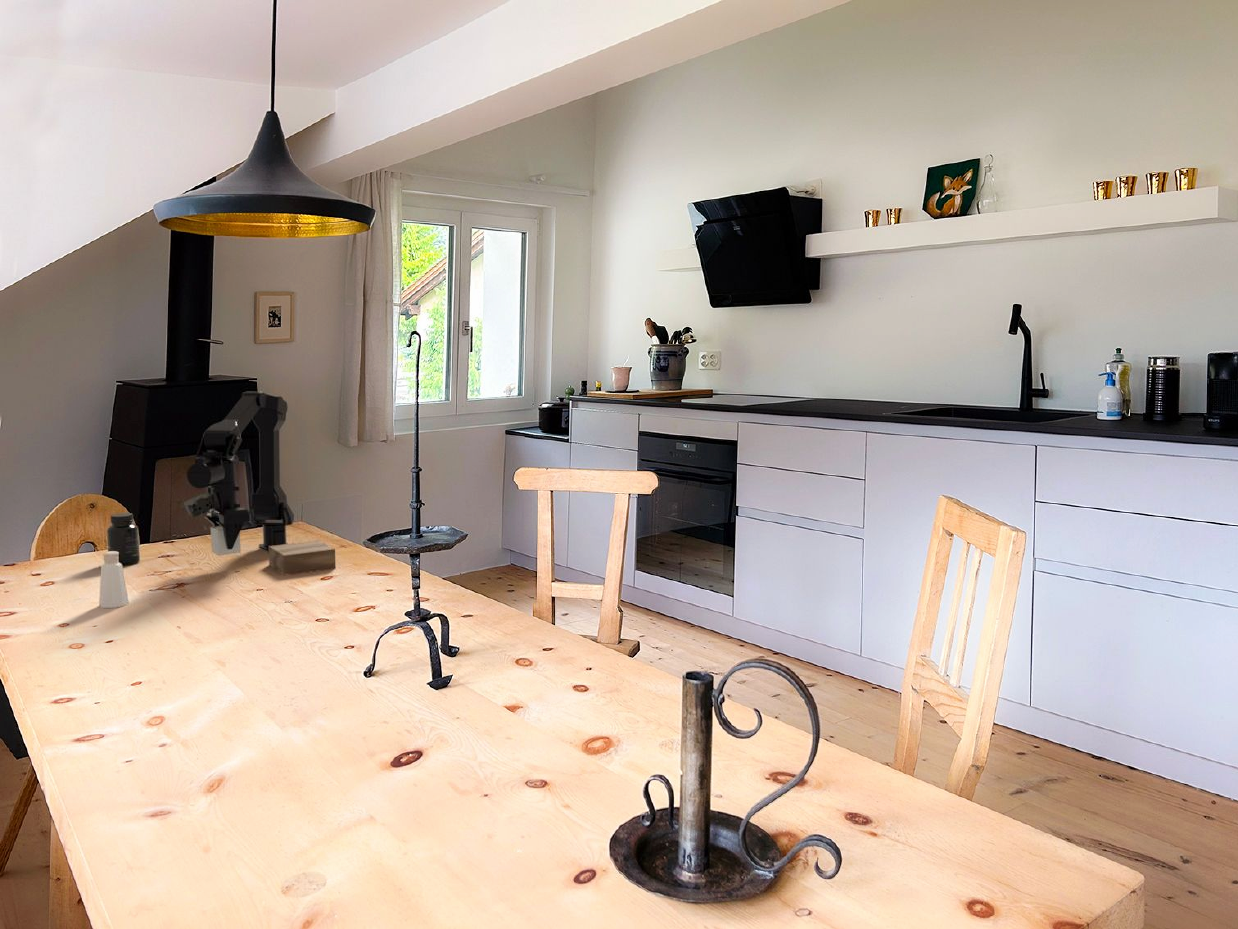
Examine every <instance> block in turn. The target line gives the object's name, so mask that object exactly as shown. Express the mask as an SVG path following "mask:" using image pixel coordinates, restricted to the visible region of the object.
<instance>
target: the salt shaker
mask: <svg viewBox="0 0 1238 929" xmlns="http://www.w3.org/2000/svg"><path fill="white" fill-rule="evenodd" d="M102 554H103V561H104V562H103V563H104V564H102V565H101V567H100V582H99V584H100V585H99V597H98V598H99V599H98V606H99V607H101V608H103V609H115V608H121V607H124V606H126V605H128V604H129V603H130V601H129V597H128V596H129V595H128V589H127V584H126V578H125V574H124V566H122V564H121V563H119V561H118V555H119V553H118V552H116V551H109V552H108V551H106V552H103V553H102Z"/></svg>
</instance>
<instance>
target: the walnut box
mask: <svg viewBox="0 0 1238 929" xmlns="http://www.w3.org/2000/svg"><path fill="white" fill-rule="evenodd" d="M268 565H269V566H270V565H271V566H272V568H273V567H274V568H273V569H274V570H276V571H278V570H279V571H280V572H279V571H278V572H279V573H281V572H282V573H283V575H284V574H290V575H295V574H304V573H303V572H305V573H311V572H310V571H312V572H317V570H319V571H325V570H331V569H336V567H337V566H336V549H335V548H333V547H331V546H329V545H328V544H326V543H324V542H322V541H320V540H318V539H317V540H309V541H303V542H294V543H288V544H284V545H275V546H269V550H268ZM271 566H270V567H271ZM282 573H281V574H282Z"/></svg>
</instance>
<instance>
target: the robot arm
mask: <svg viewBox="0 0 1238 929" xmlns="http://www.w3.org/2000/svg"><path fill="white" fill-rule="evenodd" d="M287 412H288V402H287V401H286V400H284V398H283V397H282V396H280V395H279V396H277V395H270V394H267V393H265V392H262V391H249V390H248V391H245V392H242V393H241V396H240V399H239V400H238V401H237V402H236V404H235V405H234V407H233V408H232V409H231V410H230V411H229V412H228V414H227V415H226V416H225V417H224V419H223V420H221V421H219V422H216V423H213V424H212V425H210V426H209V427H208V428H207V429H205V431H204V432H203V435H202V437H201V440H200V443H199V445H198V449H197V451H196V455H195V458H194V463H192V464H191V466H190V467H188V469H187V473H186V477H187V478H186V479H187V481H188V483H189V484H190V485H191V486H192V487H193V488H196V489H204V488H205V493H202V494H200V495H197V496H195V497H193V498H190V499H188V500H186V501H184V502H183V506H184V507H185V509H186V512H187V514H188V516H191V517H192V518H197V517H199V516H201V515H203V517H204V518H205V519H206V520H208V521H209V522H210V523H211V525H212V527H215V526H221V527H222V528H223V531H224V536H225V541H226V546H227V549H232V548H233V546H234V544H235V542H236V539H237V537H238V535H239V533H240V534H241V531H242V529H243V527H244V524H246V523H247V522H251V521H252V519H253V522H254V525H255V526H258V525H259V526H262V542H263V543H260V544H258V547H259V548H261V549H264V550H267V551H269V546H275V545H284V544H289V543H288V542H287V526H291V525H292V526H293V524H294V520H295V519H294V518H295V514H294V512H293V511H292V509H291V508H290V506H289V504H288V498H287V495H286V493H285V491H284V490H283V488H282V487H281V482H280V481H281V477H280V474H281V473H280V470H281V468H280V465H281V464H280V462H281V461H280V430H281V428H282V427H283V425H284V424H285V422H286V421H287V420H286V419H287ZM251 421H253V423H254V425H255V426H256V428H257V429H258V436H259V438H258V441H259V443H258V444H259V450H258V451H259V486H258V489H257V490H256V492H255V493H253V494H252V496H251V504H252V505H251V511H249V510H248V509H247V508H245V507H242V506H241V504H240V503H239V502H238V497H237V493H238V492H239V491H240V486H239V485H237V474H236V473H237V472H236V471H237V470H236V462H237V461H239V457H238V455H236V453H237V451H238V450H239V448H240V446H241V444H242V442H243V439H242V436H241V435H242V433H243V431H244V430H245V429H246V428H247V426H248V425H249V424H250V422H251ZM237 491H238V492H237ZM206 513H207V514H206ZM205 514H206V515H205Z"/></svg>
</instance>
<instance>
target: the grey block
mask: <svg viewBox="0 0 1238 929" xmlns="http://www.w3.org/2000/svg"><path fill="white" fill-rule="evenodd" d="M210 540H211V543H210V545H211V546H210V547H211V552H212V553H213V554H214V555H216V556H220V557H221V556H226V555H234V554H241V532H240V533H239V535H238V537H237V539H236V542H235V544H234V546H233V548H232V549H227V546H226V541H225V536H224V531H223V528H222V527H221V526H215V527H213V526H210Z"/></svg>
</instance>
